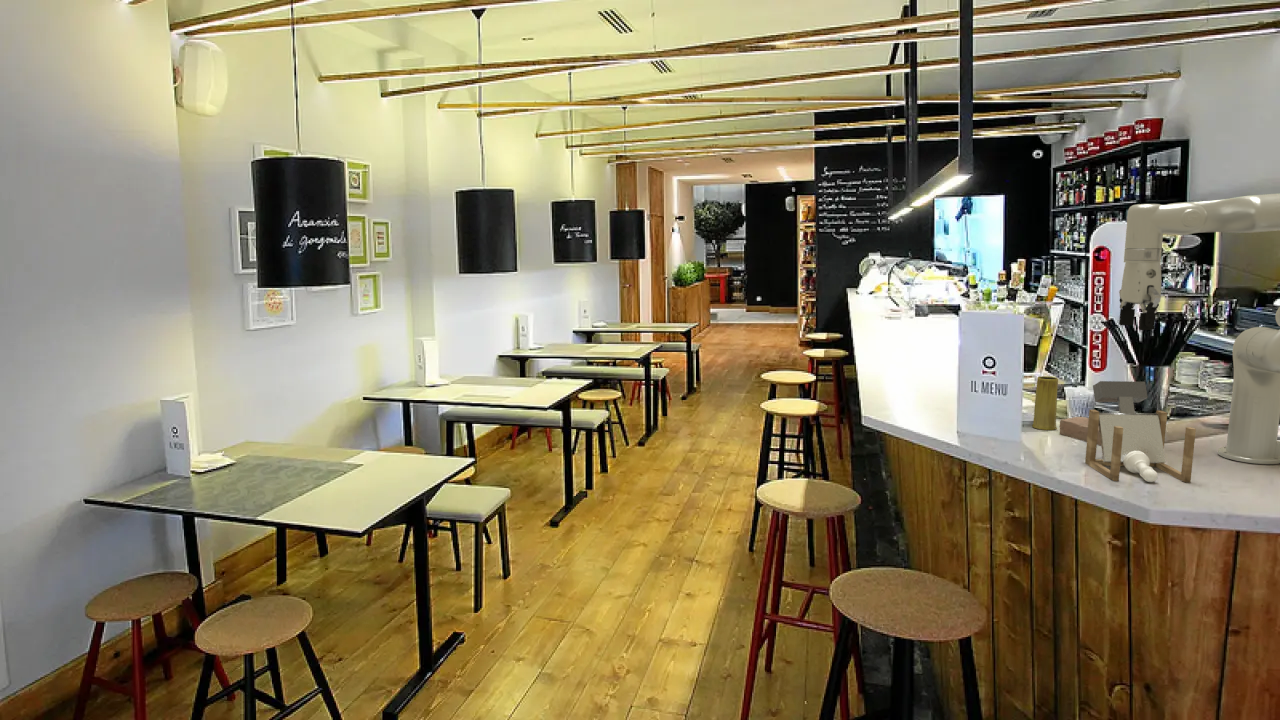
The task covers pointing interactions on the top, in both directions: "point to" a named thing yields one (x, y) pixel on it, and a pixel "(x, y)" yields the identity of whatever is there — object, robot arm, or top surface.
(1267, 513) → the top surface
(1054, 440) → the top surface
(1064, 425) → the brick
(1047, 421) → the vase
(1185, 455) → the frame
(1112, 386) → the trapdoor
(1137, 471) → the chess pawn
